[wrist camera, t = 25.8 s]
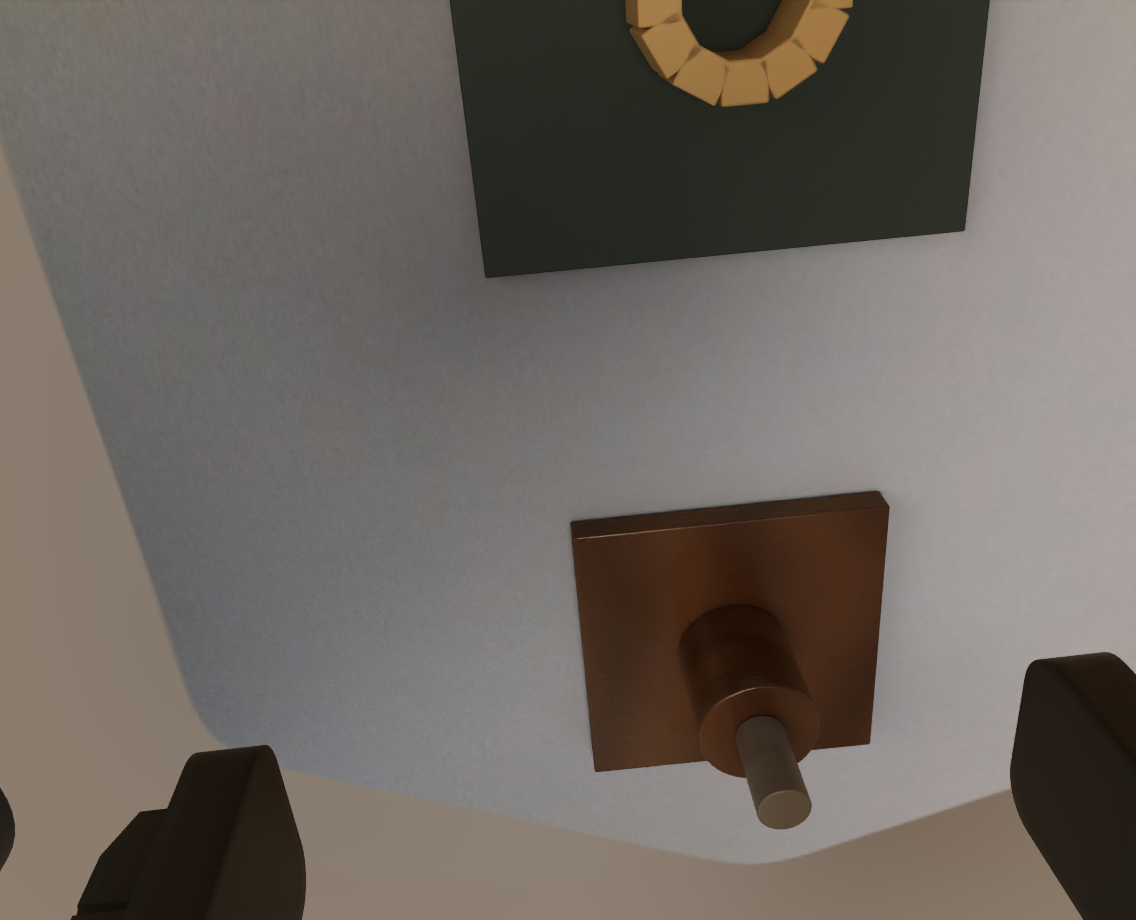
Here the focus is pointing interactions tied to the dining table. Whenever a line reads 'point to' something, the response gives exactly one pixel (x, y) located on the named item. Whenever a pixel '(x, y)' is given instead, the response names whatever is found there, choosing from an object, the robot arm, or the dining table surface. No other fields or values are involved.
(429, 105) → the dining table surface
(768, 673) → the stand
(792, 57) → the segmented tan ring
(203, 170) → the dining table surface
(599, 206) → the mat
